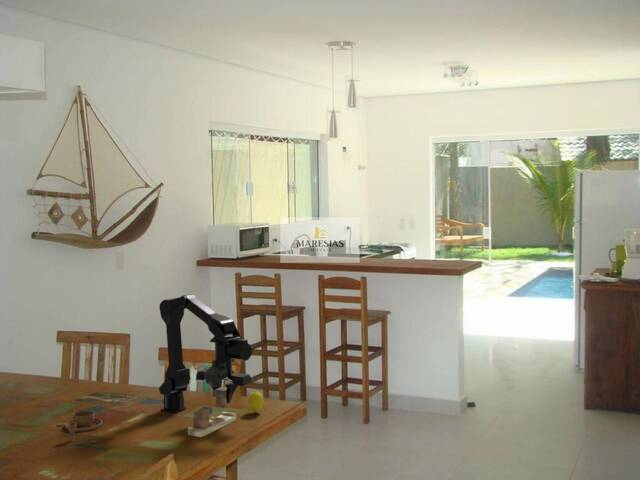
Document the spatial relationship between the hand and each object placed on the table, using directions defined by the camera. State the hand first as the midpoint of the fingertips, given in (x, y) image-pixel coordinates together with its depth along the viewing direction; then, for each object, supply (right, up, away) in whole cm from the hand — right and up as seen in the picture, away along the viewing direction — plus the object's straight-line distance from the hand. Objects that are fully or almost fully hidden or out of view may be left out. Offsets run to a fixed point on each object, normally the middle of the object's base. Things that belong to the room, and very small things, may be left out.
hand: (223, 402), depth 257 cm
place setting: (-47, -8, -9) cm, 48 cm away
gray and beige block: (0, -1, 0) cm, 1 cm away
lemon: (+10, -6, +11) cm, 16 cm away
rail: (-3, -7, -5) cm, 9 cm away
